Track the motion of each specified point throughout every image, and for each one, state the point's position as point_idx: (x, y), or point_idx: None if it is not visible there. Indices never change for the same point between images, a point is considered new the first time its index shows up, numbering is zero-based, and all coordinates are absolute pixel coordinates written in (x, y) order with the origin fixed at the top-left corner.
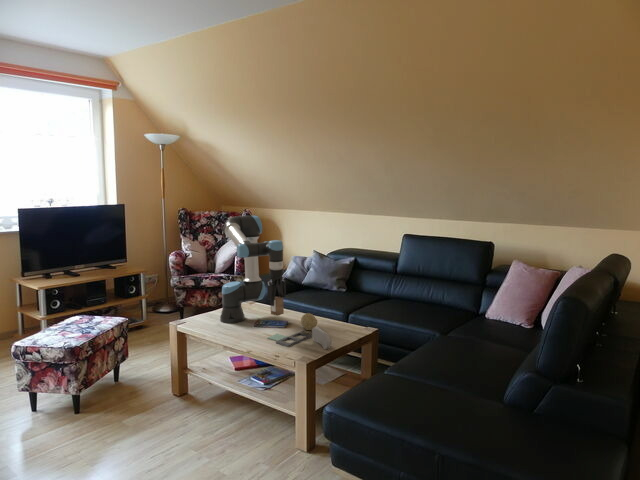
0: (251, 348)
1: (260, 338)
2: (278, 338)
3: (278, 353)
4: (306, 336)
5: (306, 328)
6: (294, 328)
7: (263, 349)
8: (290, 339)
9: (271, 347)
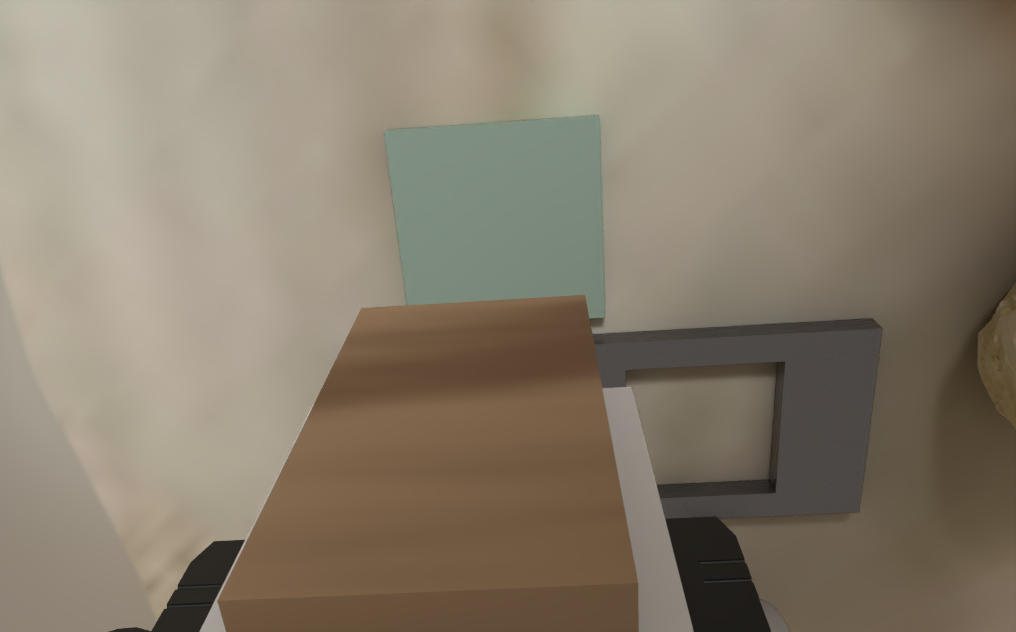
0: (7, 246)
1: (318, 41)
2: (464, 281)
3: (176, 560)
4: (728, 505)
5: (978, 350)
6: (990, 111)
7: (112, 376)
8: None
9: (222, 399)
